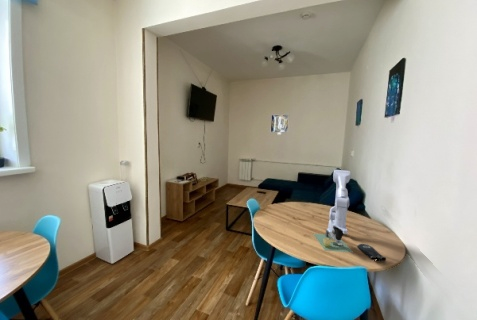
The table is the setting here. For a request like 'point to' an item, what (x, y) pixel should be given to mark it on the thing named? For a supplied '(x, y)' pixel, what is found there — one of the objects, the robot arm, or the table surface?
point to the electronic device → (370, 252)
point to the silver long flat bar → (335, 238)
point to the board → (332, 247)
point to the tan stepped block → (327, 242)
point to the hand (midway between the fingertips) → (338, 239)
